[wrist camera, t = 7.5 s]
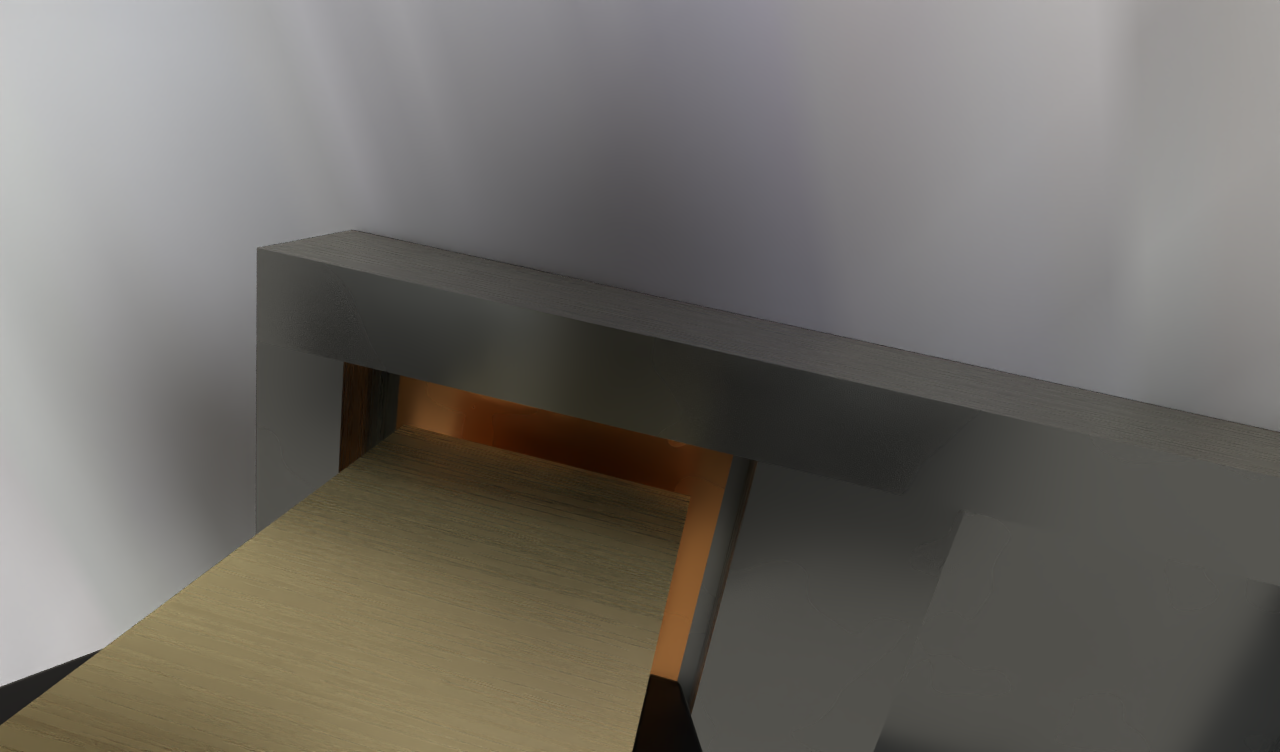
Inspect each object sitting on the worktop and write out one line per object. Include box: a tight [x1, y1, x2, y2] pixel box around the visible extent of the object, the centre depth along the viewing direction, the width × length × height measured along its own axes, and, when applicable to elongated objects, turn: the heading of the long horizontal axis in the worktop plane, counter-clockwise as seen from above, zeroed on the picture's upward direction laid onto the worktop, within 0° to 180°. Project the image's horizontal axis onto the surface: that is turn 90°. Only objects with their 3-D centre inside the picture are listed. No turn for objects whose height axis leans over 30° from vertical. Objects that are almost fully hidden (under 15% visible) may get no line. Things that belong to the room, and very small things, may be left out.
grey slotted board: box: [256, 230, 1280, 752], centre depth 10 cm, size 16×8×2 cm, turn 79°
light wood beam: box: [0, 424, 691, 752], centre depth 7 cm, size 4×4×6 cm
